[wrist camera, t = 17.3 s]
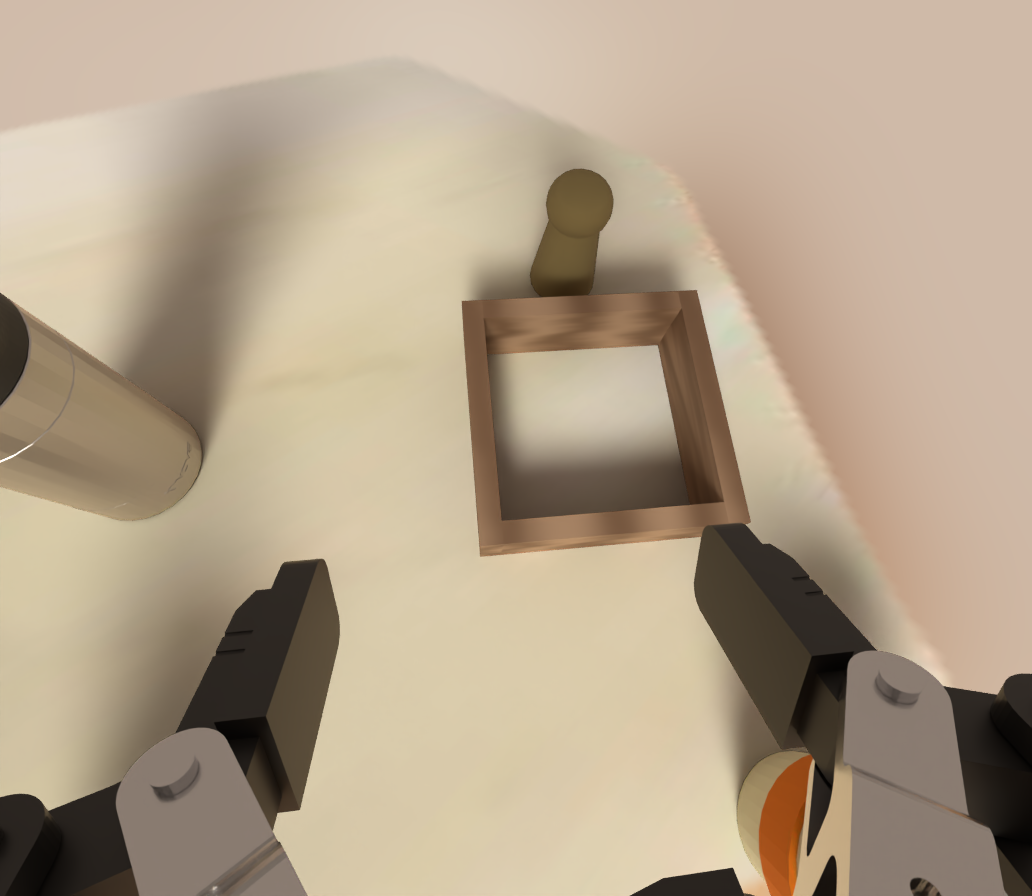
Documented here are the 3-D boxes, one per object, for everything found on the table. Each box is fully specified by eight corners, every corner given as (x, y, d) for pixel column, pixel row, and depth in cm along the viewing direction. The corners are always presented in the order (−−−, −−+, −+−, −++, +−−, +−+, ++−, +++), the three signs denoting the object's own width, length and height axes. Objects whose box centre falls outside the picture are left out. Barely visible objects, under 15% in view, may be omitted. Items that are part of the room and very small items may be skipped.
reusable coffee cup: (681, 764, 38) (802, 850, 24) (828, 695, 40) (1020, 736, 26) (765, 968, 35) (965, 1211, 20) (921, 882, 37) (1201, 1047, 22)
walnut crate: (480, 556, 42) (480, 546, 36) (463, 339, 47) (461, 301, 42) (715, 535, 43) (750, 522, 38) (671, 328, 49) (696, 290, 43)
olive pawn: (555, 239, 51) (575, 142, 41) (605, 274, 51) (639, 184, 40) (517, 279, 50) (527, 189, 39) (568, 316, 49) (593, 233, 38)
